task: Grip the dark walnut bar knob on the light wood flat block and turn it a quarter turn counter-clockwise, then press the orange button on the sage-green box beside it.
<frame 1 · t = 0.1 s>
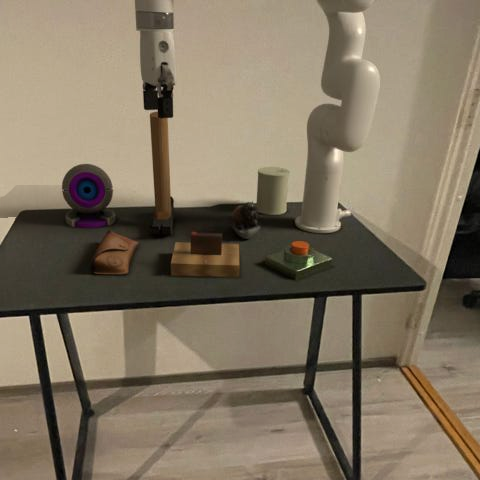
hand: (158, 113, 115), 31 cm above the table, tool pointing down, fingers open, 9 cm apart
button: (300, 247, 123), point 5 cm above the table, slide at 0.2 cm
webcam: (91, 220, 146), on the table
light wood flat block: (206, 265, 123), on the table
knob: (206, 243, 121), point 5 cm above the table, hinge at 0.0°
button box: (298, 265, 125), on the table
hammer: (163, 226, 144), on the table
can: (270, 210, 159), on the table
sunglasses case: (116, 258, 125), on the table
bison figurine: (245, 235, 141), on the table
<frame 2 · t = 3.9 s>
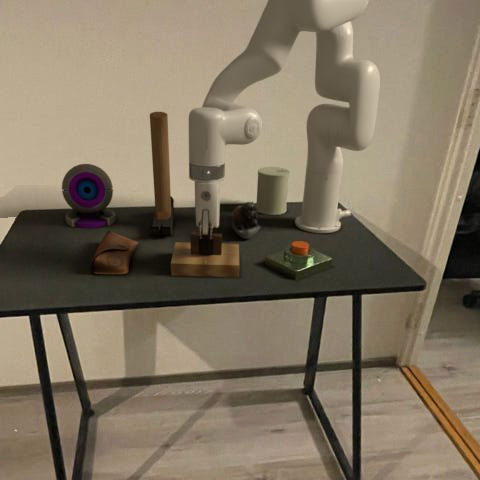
hand: (206, 251, 122), 3 cm above the table, tool pointing down, fingers closed on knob, 2 cm apart
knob: (206, 243, 121), point 5 cm above the table, hinge at 0.0°, touching gripper
everything else where it was.
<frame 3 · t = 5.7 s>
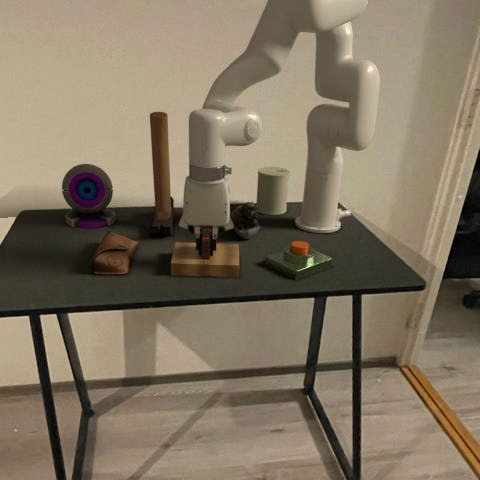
hand: (206, 252, 122), 3 cm above the table, tool pointing down, fingers closed on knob, 2 cm apart
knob: (206, 243, 121), point 5 cm above the table, hinge at 90.0°, touching gripper
everything else where it was.
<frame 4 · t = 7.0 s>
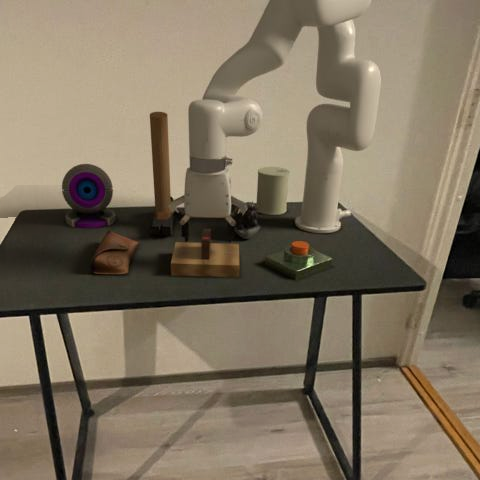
hand: (208, 239, 121), 6 cm above the table, tool pointing down, fingers open, 9 cm apart
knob: (206, 243, 121), point 5 cm above the table, hinge at 89.8°
everything else where it was.
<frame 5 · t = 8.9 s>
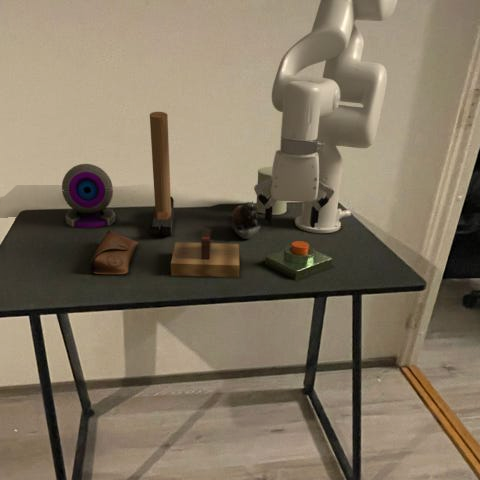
hand: (290, 224, 120), 10 cm above the table, tool pointing down, fingers open, 9 cm apart
nothing on the table moved.
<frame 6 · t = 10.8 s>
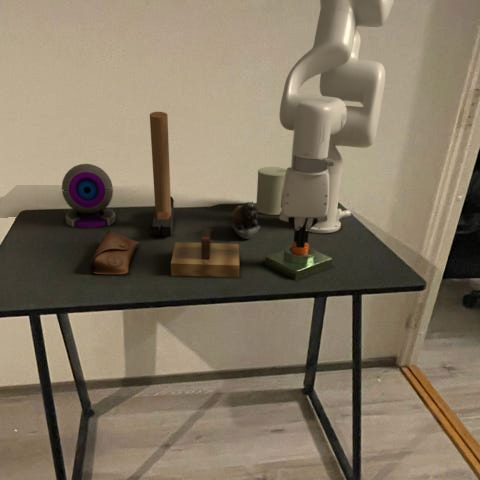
hand: (300, 244, 122), 5 cm above the table, tool pointing down, fingers closed
button: (300, 248, 123), point 4 cm above the table, slide at 0.1 cm, touching gripper
everything else where it was.
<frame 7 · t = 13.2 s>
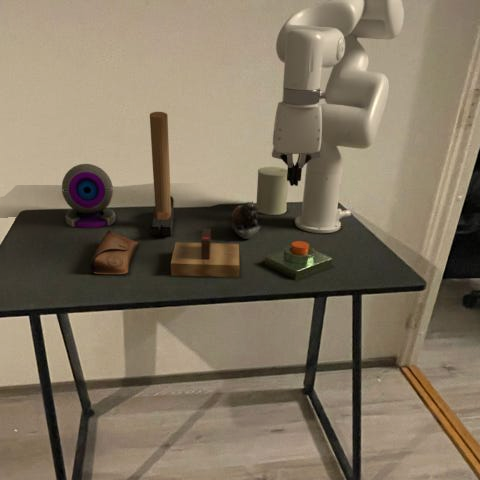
hand: (293, 183, 121), 18 cm above the table, tool pointing down, fingers closed
button: (300, 247, 123), point 5 cm above the table, slide at 0.1 cm
everything else where it was.
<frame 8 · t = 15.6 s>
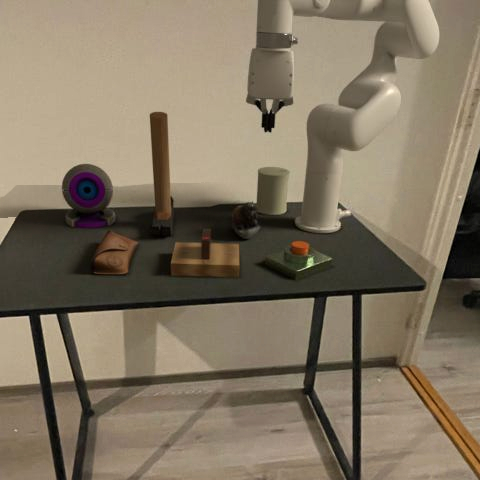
hand: (267, 131, 124), 27 cm above the table, tool pointing down, fingers closed
nothing on the table moved.
at the end: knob at +90° (first picture: +0°); button pushed in 1.1 cm at the most during the clip, back to where it started at the end; button slide at 0.1 cm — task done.
